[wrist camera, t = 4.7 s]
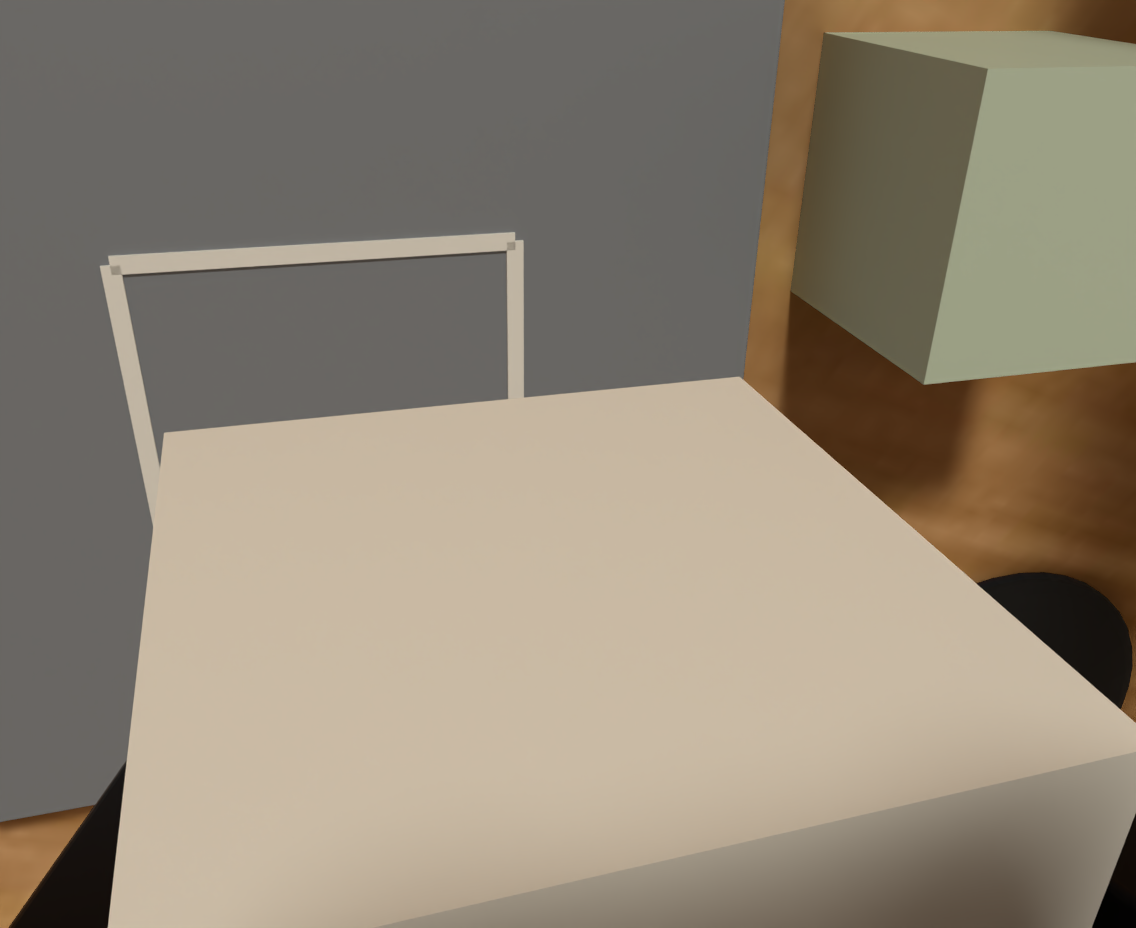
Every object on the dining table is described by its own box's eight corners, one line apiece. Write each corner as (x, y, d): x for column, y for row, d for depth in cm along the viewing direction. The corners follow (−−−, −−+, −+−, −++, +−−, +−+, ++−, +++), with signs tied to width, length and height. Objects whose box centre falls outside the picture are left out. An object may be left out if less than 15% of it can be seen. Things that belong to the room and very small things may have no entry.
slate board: (759, -59, 18) (793, -57, 17) (689, 662, 25) (710, 696, 24) (-319, -76, 14) (-369, -74, 13) (-19, 784, 21) (-33, 832, 20)
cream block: (739, 376, 9) (1161, 745, 5) (694, 779, 12) (962, 1262, 7) (165, 432, 8) (100, 989, 4) (241, 873, 10) (255, 1528, 6)
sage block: (1049, 30, 20) (1261, 63, 16) (993, 274, 23) (1166, 359, 18) (822, 32, 19) (987, 69, 15) (788, 289, 21) (923, 384, 17)
